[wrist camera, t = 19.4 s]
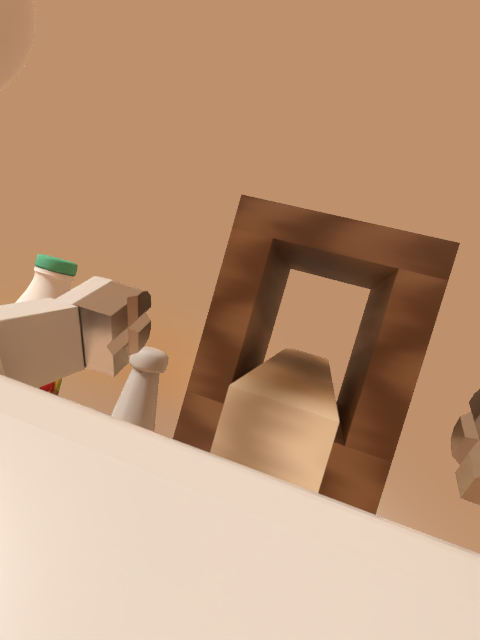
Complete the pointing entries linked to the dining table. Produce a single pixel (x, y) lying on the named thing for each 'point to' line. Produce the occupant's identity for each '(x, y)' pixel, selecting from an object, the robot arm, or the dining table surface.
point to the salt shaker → (142, 388)
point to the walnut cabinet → (370, 345)
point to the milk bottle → (50, 290)
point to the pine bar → (281, 419)
